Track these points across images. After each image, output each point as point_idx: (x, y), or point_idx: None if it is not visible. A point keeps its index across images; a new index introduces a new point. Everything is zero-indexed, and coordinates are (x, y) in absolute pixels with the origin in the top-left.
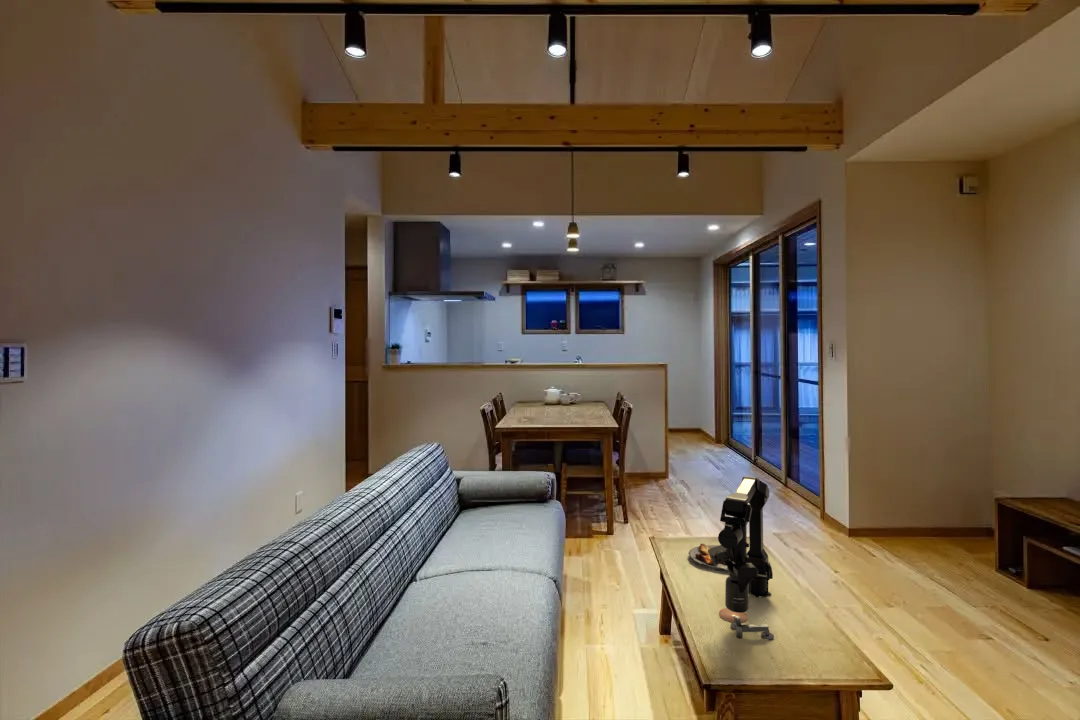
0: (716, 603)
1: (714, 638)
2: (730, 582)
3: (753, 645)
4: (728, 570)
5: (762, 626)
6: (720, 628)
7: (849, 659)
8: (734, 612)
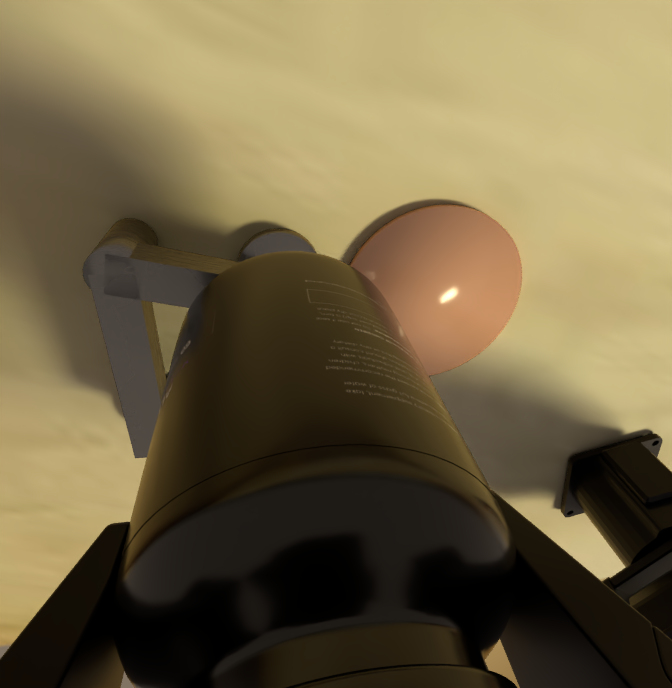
0: (605, 244)
1: (82, 3)
2: (210, 559)
3: (32, 299)
4: (643, 662)
5: (133, 427)
6: (269, 140)
7: (8, 623)
8: (455, 316)
